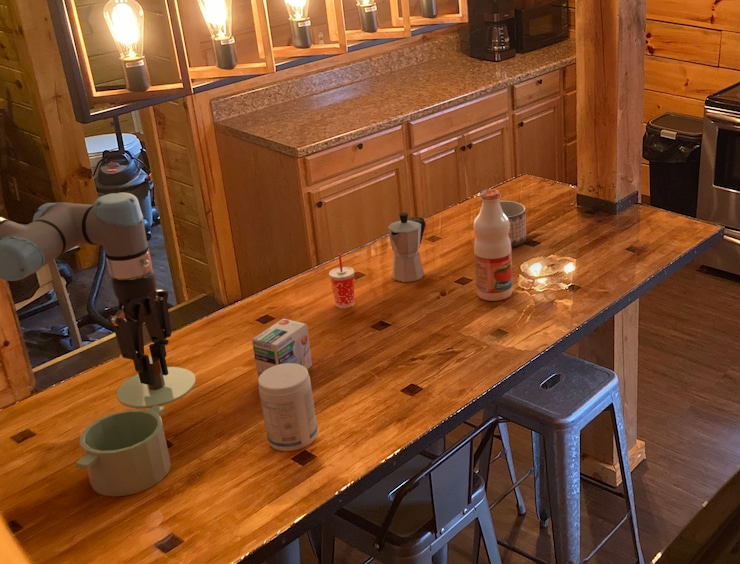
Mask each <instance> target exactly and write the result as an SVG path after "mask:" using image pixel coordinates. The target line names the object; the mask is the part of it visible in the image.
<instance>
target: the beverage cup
mask: <svg viewBox="0 0 740 564" xmlns="http://www.w3.org/2000/svg"><path fill="white" fill-rule="evenodd" d="M338 260H339V261H338V262H339V267H335V268H333V269H331V270H329V272H328V276H329V278H330V281H331V288H332V291H333V298H334V302H335V307H336V308H338V307H339V308H338V309H348V307H349V308H351V306H352V307H354V305H355V304H356V303H355V282H354V276H355V269H354V268H352V267H350V266H343V264H342V255H341V253H338Z"/></svg>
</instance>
